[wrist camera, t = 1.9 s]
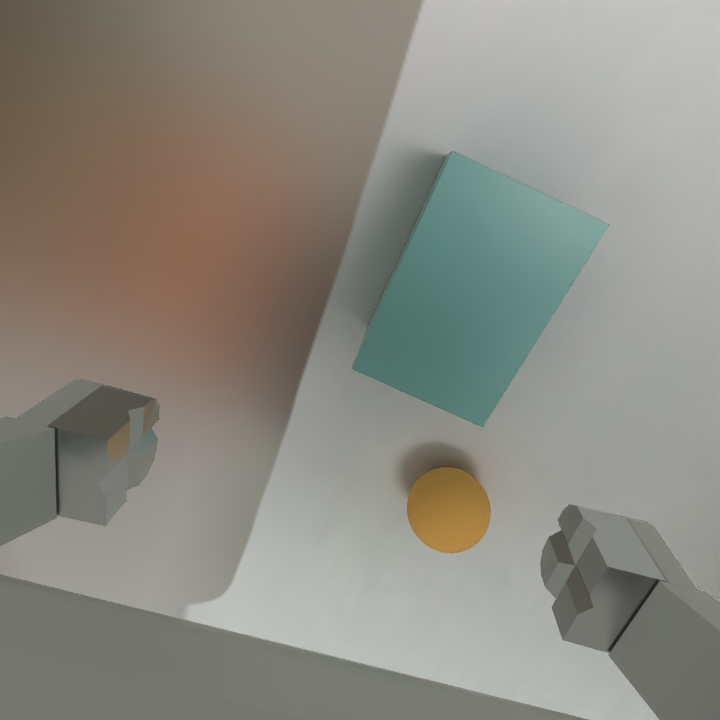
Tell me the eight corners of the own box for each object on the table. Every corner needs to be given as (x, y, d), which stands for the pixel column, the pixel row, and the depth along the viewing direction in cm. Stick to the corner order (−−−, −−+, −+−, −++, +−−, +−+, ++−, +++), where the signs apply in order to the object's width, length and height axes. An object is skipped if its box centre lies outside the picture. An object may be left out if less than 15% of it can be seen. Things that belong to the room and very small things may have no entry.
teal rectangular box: (446, 155, 24) (452, 151, 18) (566, 211, 24) (609, 224, 19) (366, 328, 28) (351, 368, 22) (471, 375, 28) (482, 426, 23)
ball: (472, 442, 30) (480, 492, 25) (494, 505, 32) (506, 562, 27) (397, 462, 31) (392, 513, 27) (423, 521, 33) (422, 579, 28)
